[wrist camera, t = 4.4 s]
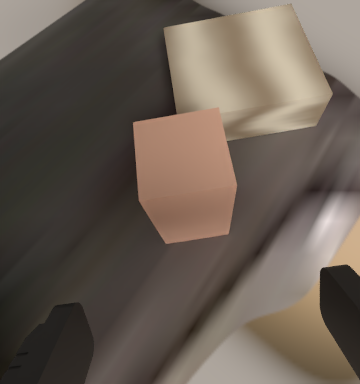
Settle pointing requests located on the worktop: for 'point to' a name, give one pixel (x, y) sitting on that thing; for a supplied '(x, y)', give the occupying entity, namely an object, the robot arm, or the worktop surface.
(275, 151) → the worktop surface
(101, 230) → the worktop surface
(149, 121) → the terracotta block
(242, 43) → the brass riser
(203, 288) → the worktop surface
